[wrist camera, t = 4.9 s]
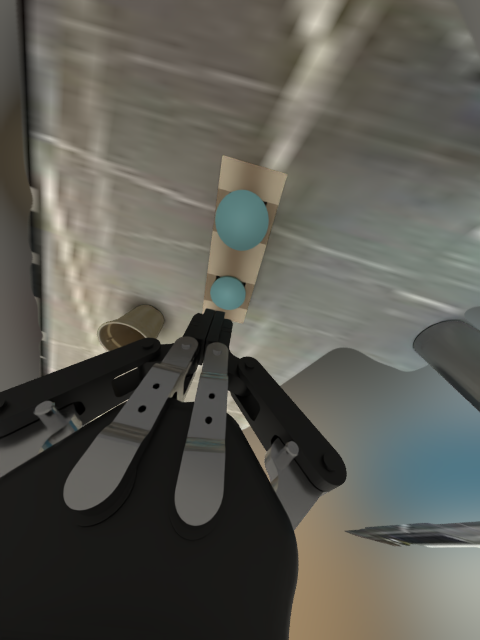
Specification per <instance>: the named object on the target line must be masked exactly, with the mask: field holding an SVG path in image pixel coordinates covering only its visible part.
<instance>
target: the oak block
mask: <svg viewBox="0 0 480 640" xmlns="http://www.w3.org/2000/svg"><path fill="white" fill-rule="evenodd" d="M286 178H287V174H285V173H281V172H278V171H274V170H271V169H268V168H264V167H261V166H257V165H254V164H251V163H247V162H244V161H241V160H237V159H234V158H230V157H227V156H224V155H223V156H222V163H221V171H220V179H219V187H218V194H217V202H216V210H215V216H216V211H217V208H218V206H219V204H220V202H221V201H222V199H223V198H224V197H225V196H226V195H228V194H229V193H231V192H233V191H236V190H247V191H251V192H253V193H255V194H256V195H257V196H259V197H260V198H261V200H262V201H264V202H265V203H264V204H265V206H266V208H267V212H268V217H269V223H268V229H267V232H266V234H265V237H264V238H263V240H262V241H261V242H260V243H259V244H258V245H257V246H255V247H254V248H252V249H249V250H245V251H239V250H235V249H232V248H230V247H228V246H227V245H226V244H225V243H224V242H223V241H222V240H221V238H220V237H219V235H218V232H217V229H216V224H215V218H214V226H213V233H212V241H211V249H210V257H209V264H208V272H207V280H206V288H205V295H204V303H203V311H202V314H204V312H205V309H206V308H208V309H213V310H218V311H223V312H225V319H230V320H231V321H234V322H238V323H243V322H244V319H245V316H246V312H247V309H248V306H249V302H250V299H251V296H252V292H253V289H254V285H255V282H256V279H257V275H258V272H259V269H260V265H261V262H262V258H263V255H264V252H265V248H266V245H267V242H268V238H269V235H270V232H271V228H272V225H273V221H274V218H275V215H276V211H277V208H278V205H279V201H280V198H281V195H282V191H283V188H284V184H285V181H286ZM220 276H221V277H222V276H232V277H235V278H237V279H239V280H240V281H242V282H244V284H243V285H244V287H245V291H246V294H245V300H244V302H243V304H242V305H241V306H240V307H238V308H236V309H233V310H225V309H222V308H220V307H218V306H217V305H216V304H215V303H214V302H213V301H212V299H211V295H210V290H211V287H212V285H213V283H214V282H215V281H216V280H217V279H218V278H220Z"/></svg>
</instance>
